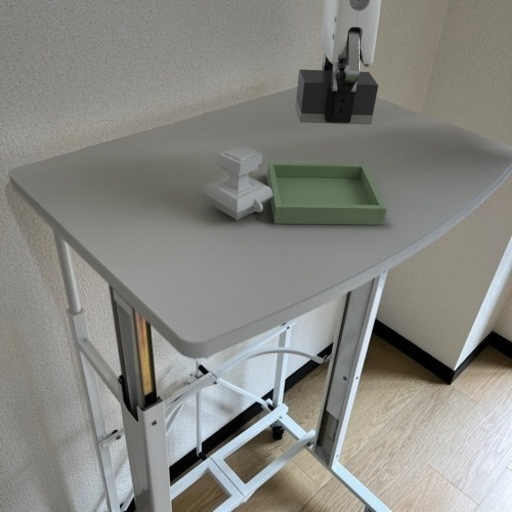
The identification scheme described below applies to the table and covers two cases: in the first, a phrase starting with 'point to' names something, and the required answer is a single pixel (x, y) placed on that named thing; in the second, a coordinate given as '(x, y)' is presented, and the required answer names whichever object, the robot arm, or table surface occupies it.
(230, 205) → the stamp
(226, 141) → the table surface
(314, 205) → the tray
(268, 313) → the table surface
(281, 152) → the table surface
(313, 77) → the eraser
